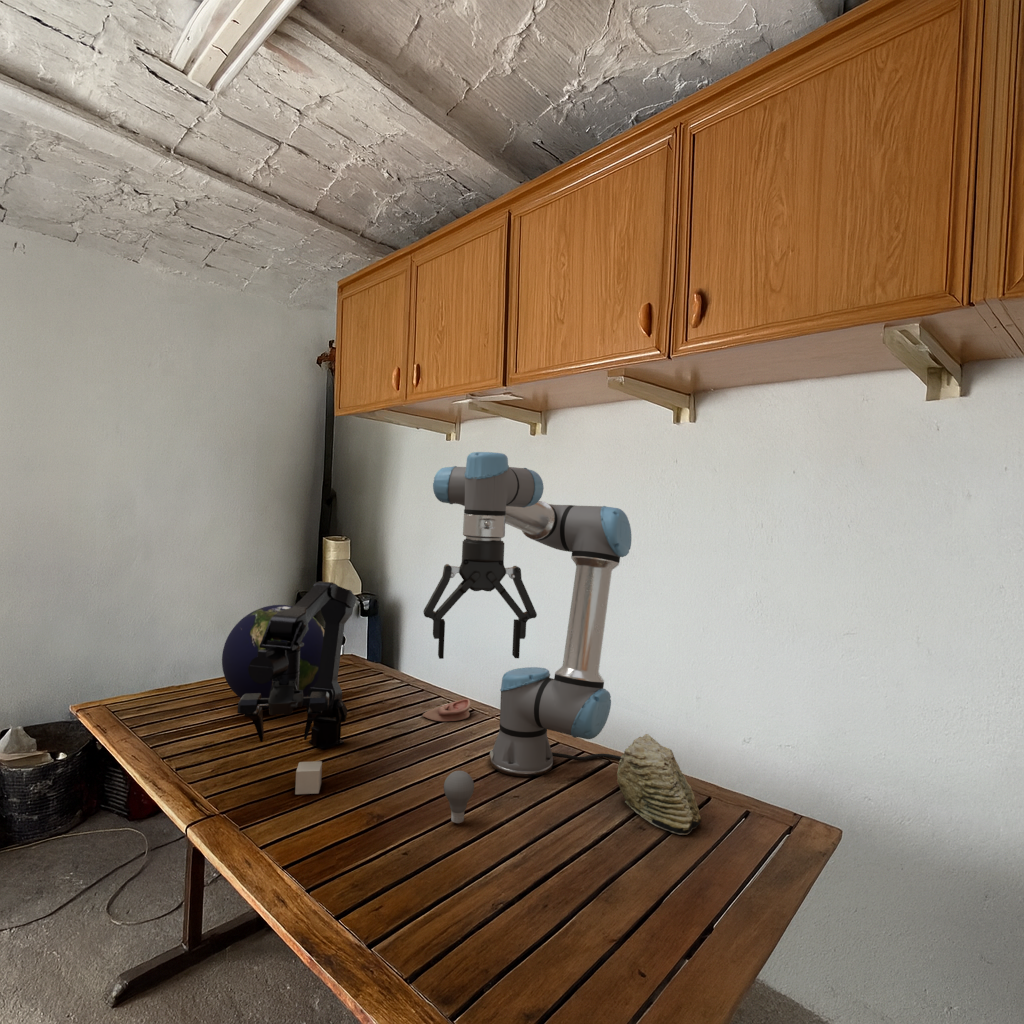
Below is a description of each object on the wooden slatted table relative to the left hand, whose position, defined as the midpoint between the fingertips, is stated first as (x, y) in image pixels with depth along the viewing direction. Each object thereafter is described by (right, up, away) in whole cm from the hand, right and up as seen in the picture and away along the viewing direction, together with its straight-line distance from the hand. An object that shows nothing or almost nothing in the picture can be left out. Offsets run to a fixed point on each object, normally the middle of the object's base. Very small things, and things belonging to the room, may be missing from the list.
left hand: (283, 740), depth 141 cm
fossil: (+81, -12, -9) cm, 82 cm away
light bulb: (+40, -11, -16) cm, 44 cm away
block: (+7, -9, -4) cm, 12 cm away
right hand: (+45, +25, -27) cm, 58 cm away
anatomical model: (+32, -9, +46) cm, 56 cm away
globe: (-19, -7, +47) cm, 51 cm away
